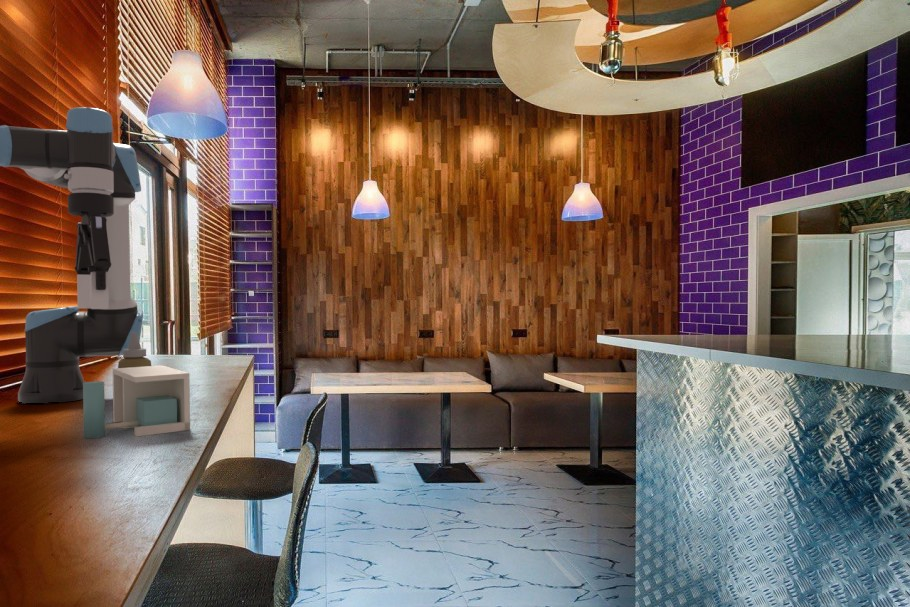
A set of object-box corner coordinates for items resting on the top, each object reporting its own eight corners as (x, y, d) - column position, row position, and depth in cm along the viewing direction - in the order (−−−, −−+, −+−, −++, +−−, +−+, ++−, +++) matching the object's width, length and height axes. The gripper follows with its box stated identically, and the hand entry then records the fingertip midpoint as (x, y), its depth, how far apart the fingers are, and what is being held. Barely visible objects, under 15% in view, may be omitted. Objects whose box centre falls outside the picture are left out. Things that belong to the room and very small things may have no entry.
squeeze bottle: (106, 416, 151) (105, 333, 150) (139, 410, 158) (138, 331, 158) (131, 418, 147) (130, 334, 147) (163, 413, 154) (162, 332, 154)
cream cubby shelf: (113, 421, 144) (112, 368, 144) (162, 416, 150) (162, 365, 150) (135, 436, 129) (135, 377, 128) (190, 429, 134) (189, 373, 134)
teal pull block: (81, 434, 130) (80, 381, 130) (168, 424, 140) (168, 375, 140) (86, 440, 126) (86, 384, 125) (177, 429, 135) (176, 378, 135)
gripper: (57, 200, 136) (59, 308, 136) (80, 182, 116) (82, 309, 116) (99, 203, 141) (101, 307, 141) (128, 186, 121) (130, 308, 121)
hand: (92, 308), depth 129 cm, fingers open, 13 cm apart
